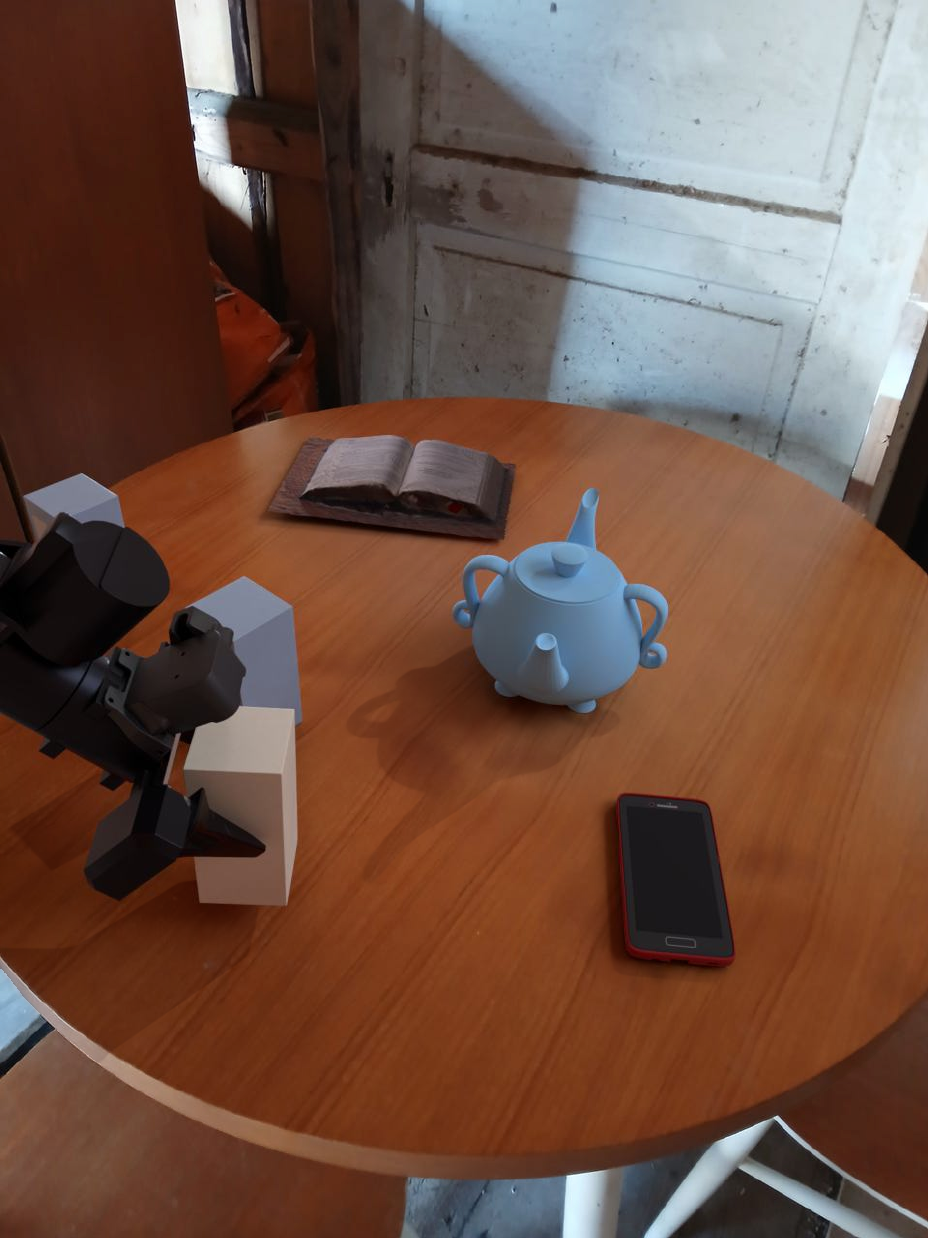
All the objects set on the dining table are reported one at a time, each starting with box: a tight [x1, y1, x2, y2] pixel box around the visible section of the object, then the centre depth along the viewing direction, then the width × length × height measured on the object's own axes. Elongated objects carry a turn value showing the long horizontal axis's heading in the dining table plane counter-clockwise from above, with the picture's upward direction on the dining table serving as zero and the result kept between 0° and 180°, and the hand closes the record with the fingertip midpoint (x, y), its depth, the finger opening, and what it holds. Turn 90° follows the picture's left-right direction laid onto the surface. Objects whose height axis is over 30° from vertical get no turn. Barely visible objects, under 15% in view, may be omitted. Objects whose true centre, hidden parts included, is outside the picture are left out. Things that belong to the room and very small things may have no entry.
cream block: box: [182, 706, 299, 907], centre depth 61 cm, size 6×6×13 cm
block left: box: [22, 472, 126, 543], centre depth 87 cm, size 6×6×13 cm
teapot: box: [451, 487, 669, 714], centre depth 83 cm, size 16×20×14 cm
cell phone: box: [615, 792, 737, 967], centre depth 69 cm, size 8×15×1 cm, turn 176°
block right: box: [184, 575, 303, 727], centre depth 76 cm, size 6×6×13 cm
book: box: [267, 434, 517, 541], centre depth 111 cm, size 20×28×4 cm
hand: (267, 808), depth 61 cm, fingers closed on cream block, 7 cm apart
